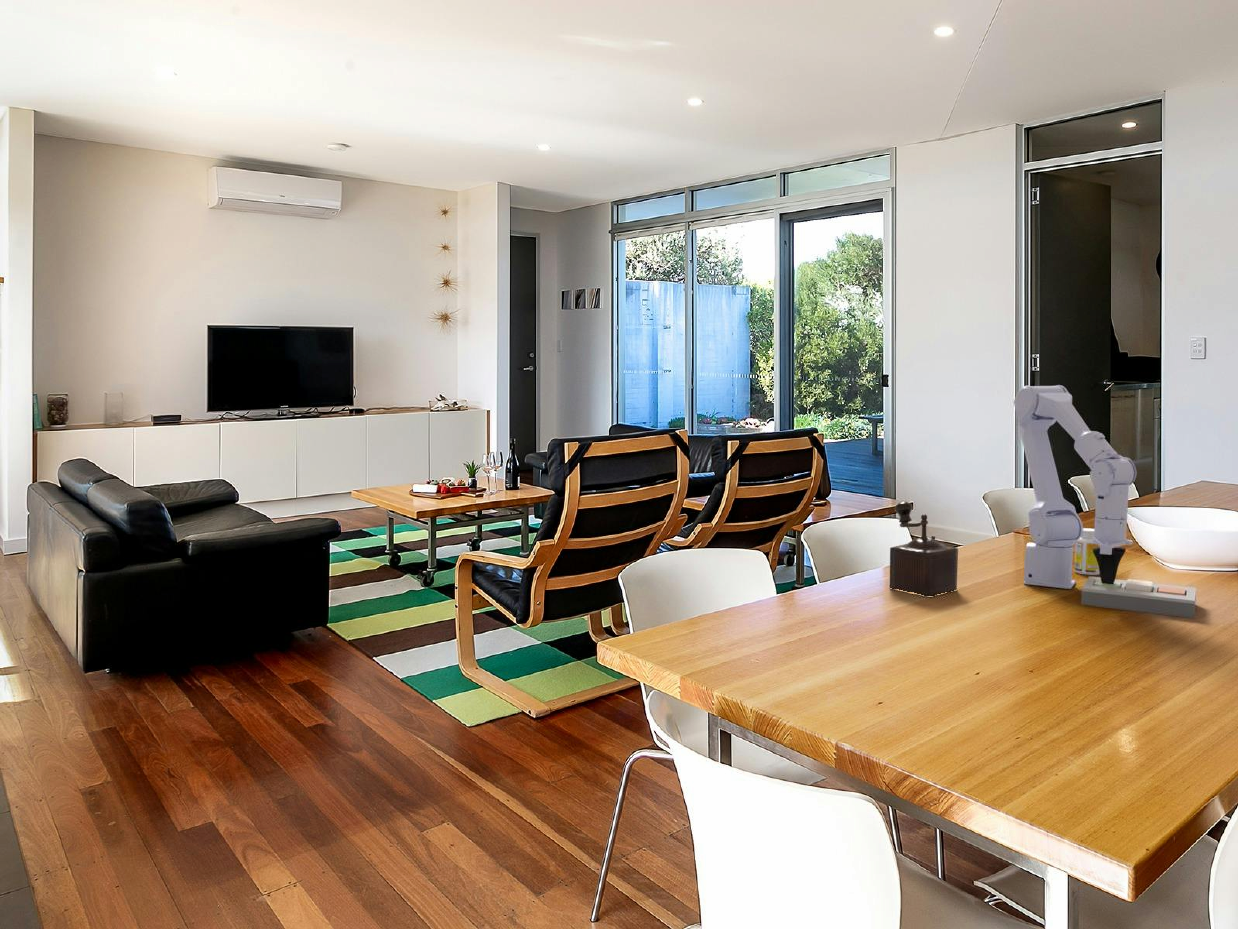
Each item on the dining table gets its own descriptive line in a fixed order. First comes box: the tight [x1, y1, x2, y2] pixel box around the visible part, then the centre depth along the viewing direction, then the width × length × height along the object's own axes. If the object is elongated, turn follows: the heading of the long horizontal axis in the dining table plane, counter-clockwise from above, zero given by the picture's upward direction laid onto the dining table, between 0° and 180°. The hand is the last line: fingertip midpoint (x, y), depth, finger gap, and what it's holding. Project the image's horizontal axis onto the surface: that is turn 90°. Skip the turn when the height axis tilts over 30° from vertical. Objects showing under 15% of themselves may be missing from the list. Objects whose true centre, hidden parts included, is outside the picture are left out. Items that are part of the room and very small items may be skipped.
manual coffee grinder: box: [889, 501, 959, 597], centre depth 197 cm, size 16×11×18 cm
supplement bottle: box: [1074, 527, 1100, 576], centre depth 210 cm, size 6×6×10 cm
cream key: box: [1126, 578, 1154, 592], centre depth 182 cm, size 4×4×2 cm
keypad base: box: [1080, 576, 1197, 619], centre depth 182 cm, size 19×12×3 cm, turn 57°
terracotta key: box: [1158, 586, 1185, 596], centre depth 179 cm, size 4×4×2 cm
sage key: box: [1094, 580, 1121, 588], centre depth 185 cm, size 4×4×2 cm
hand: (1107, 583), depth 185 cm, fingers closed, pressing on sage key
